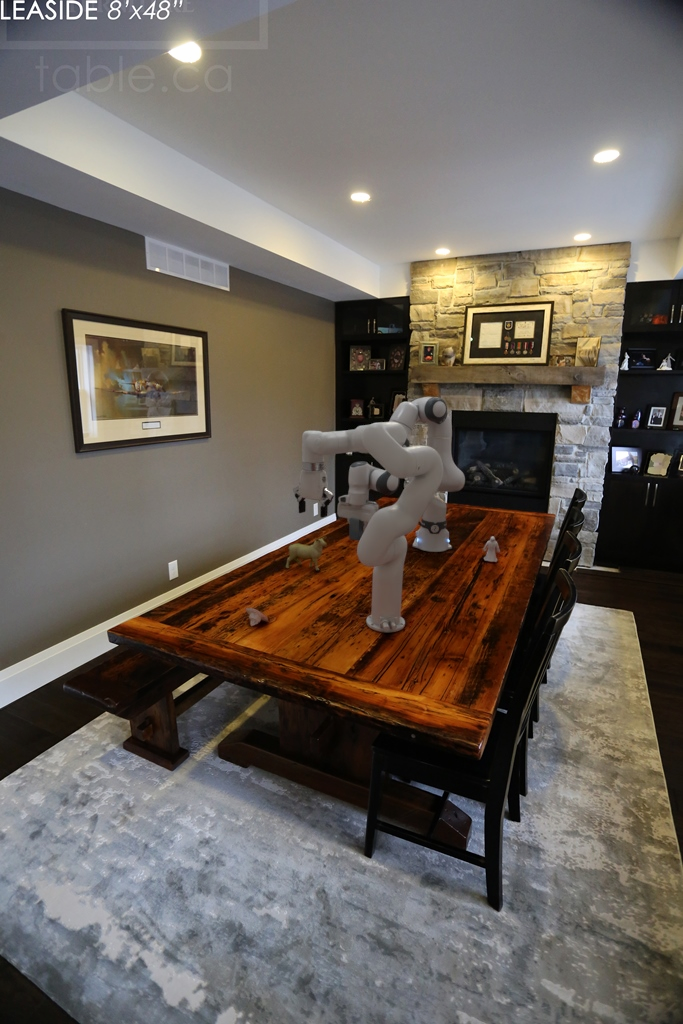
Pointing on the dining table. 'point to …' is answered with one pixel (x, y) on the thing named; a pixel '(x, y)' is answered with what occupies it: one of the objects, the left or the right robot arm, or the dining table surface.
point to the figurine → (491, 550)
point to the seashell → (255, 616)
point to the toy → (306, 552)
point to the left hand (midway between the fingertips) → (312, 514)
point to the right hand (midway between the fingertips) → (357, 529)
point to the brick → (355, 529)
